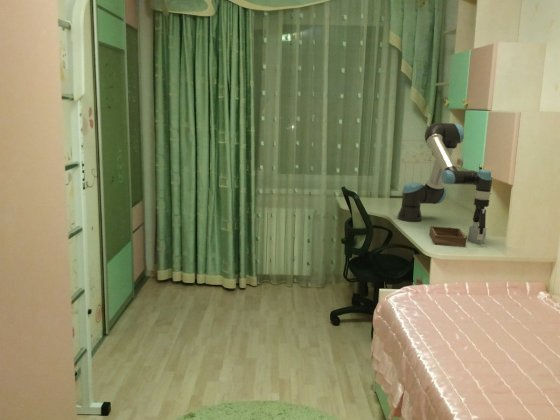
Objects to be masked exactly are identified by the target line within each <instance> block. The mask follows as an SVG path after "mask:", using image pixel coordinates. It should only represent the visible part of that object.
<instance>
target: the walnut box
mask: <svg viewBox="0 0 560 420" xmlns="http://www.w3.org/2000/svg"><path fill="white" fill-rule="evenodd" d="M429 236H430V237H429V238H431V241H432V243H433V244H434V245H435V246H437V245H438V246H449V247H457V246H458V248H459V247H460V248H466V247H467V246H466V245H467V241H468V237H467V236H466V235H465V234H464V233H463V231H462V229H460V228H456V227H447V226H446V227H443V226H430V227H429Z"/></svg>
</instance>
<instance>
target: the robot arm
mask: <svg viewBox="0 0 560 420" xmlns="http://www.w3.org/2000/svg"><path fill="white" fill-rule="evenodd" d="M464 138H465V132H464V128H463V126H462V125H461V124H459V123H455V122H453V123H452V122H451V123H448V122H435V123H432V124H430V125H428V126H427V128H426V129H425V132H424V141H425V143H426V145H427V147H429V148H430V149H431V152H432V154H433V155H434V157H435V158H434V162H433V165H432V168H431V172H430V176H429V179H428V180H426V181H425V185H423V184H424V183H421V182H410V183H409V182H408V183H405V184H404V185H403V188H402V198H401V199H402V200H401V207H400V210H398V211H399V212H398V214H397V219H398V220H400V221H404V222H411V223H413V222H415V223H417V222H421V221H422V220H423V216H422V211H421V204H426V205H427V204H429V205H431V204H432V205H436V204H441V203H443V202H444V200H445V199H446V197H447V189H446V187H445V185H465V186H467V185H468V186H469V185H470V186H471V185H472V186H476V187H475V192H474V199H473V205H474V206H475V210H474V212H473V217H472V221H473V222H472V223H473V224H472V226H478V235H477V240H483V232H484V228H486V221H487V220H486V216H487V209H485V208H487V207H489V205H490V198H491V195H492V193H491V190H492V183H493V178H494V177H493V178H492V177H491V171H492V170H491V171H489V170H490V169H483V168H482V169H478V170H472V169H469V170H458V168H457V167H456V165H455V163H454V160H453V159H452V154H453V151H454V150H455V149H456V148H457V147H458V144H461V143H463V141H464Z"/></svg>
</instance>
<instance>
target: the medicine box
mask: <svg viewBox="0 0 560 420" xmlns="http://www.w3.org/2000/svg"><path fill="white" fill-rule="evenodd" d="M478 226H479V225H478ZM478 226H473V225H470V226H469V227H468V229H469V230H468V237H467V242H470V243H475V244H477V245H484V244H486V237H487V236H486V235H487V228H486V227H485V228H484V232H483V240H477V235H478Z"/></svg>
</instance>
